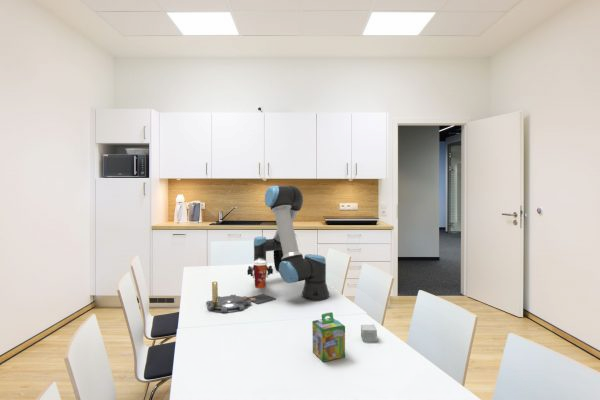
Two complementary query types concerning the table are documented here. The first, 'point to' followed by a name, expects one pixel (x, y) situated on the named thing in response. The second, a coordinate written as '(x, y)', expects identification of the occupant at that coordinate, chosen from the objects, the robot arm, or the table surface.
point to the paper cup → (260, 273)
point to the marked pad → (261, 298)
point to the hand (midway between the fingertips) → (260, 275)
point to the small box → (368, 333)
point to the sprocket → (226, 301)
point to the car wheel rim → (277, 258)
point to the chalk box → (328, 338)
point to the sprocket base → (228, 310)
